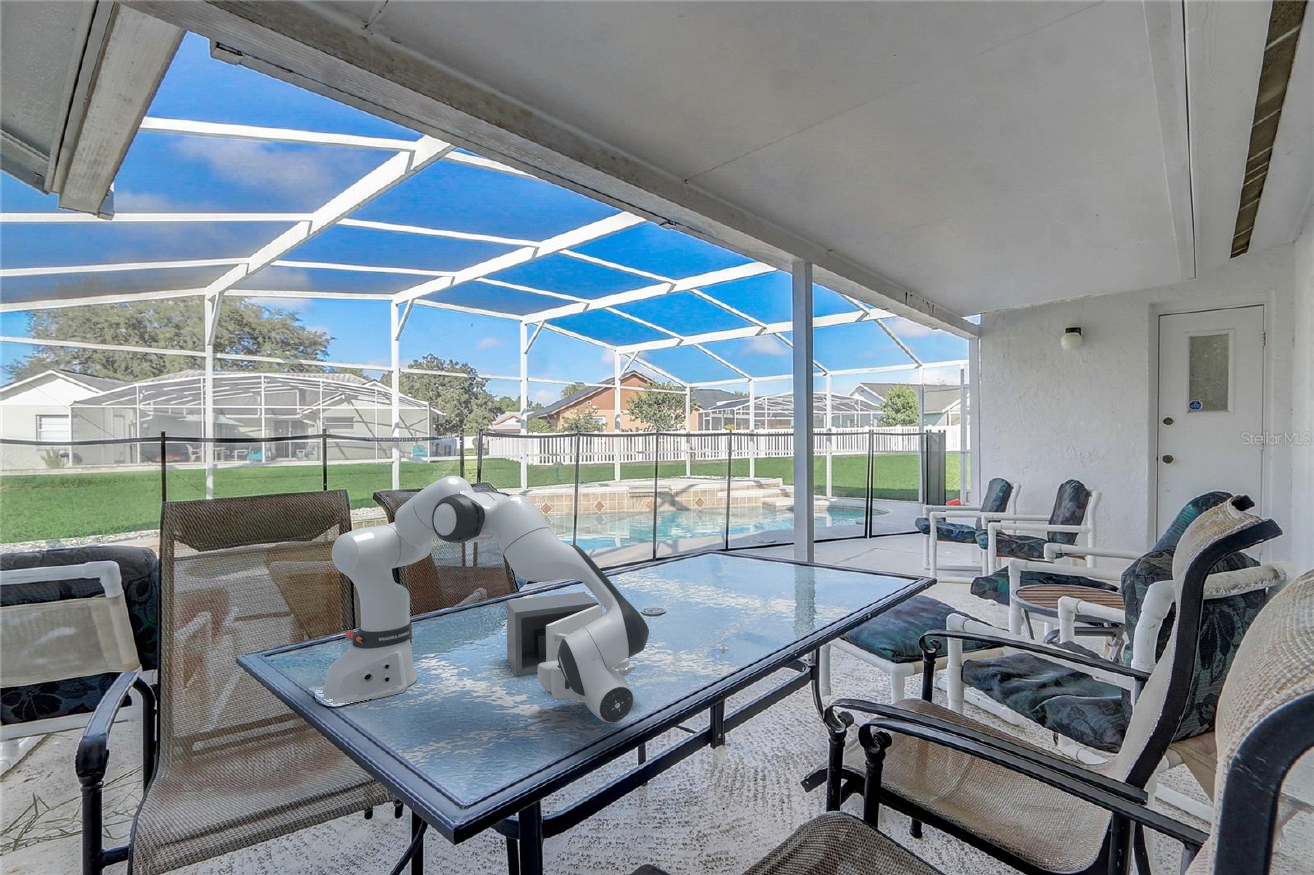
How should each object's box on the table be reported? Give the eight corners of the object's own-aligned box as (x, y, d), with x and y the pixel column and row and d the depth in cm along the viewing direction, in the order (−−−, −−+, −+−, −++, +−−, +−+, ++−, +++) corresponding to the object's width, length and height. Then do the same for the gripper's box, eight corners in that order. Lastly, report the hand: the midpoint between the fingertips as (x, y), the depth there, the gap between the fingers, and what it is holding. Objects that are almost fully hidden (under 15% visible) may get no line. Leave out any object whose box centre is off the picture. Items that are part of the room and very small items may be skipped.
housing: (516, 676, 148) (515, 612, 149) (507, 659, 161) (506, 600, 162) (599, 663, 157) (598, 602, 157) (585, 647, 170) (584, 591, 170)
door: (571, 695, 134) (570, 629, 135) (546, 689, 138) (545, 625, 139) (622, 665, 153) (621, 607, 154) (600, 661, 157) (599, 604, 157)
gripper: (638, 655, 129) (617, 638, 142) (545, 669, 121) (532, 650, 134) (638, 684, 129) (617, 664, 142) (546, 701, 121) (532, 678, 134)
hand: (575, 657), depth 138 cm, fingers open, 3 cm apart
